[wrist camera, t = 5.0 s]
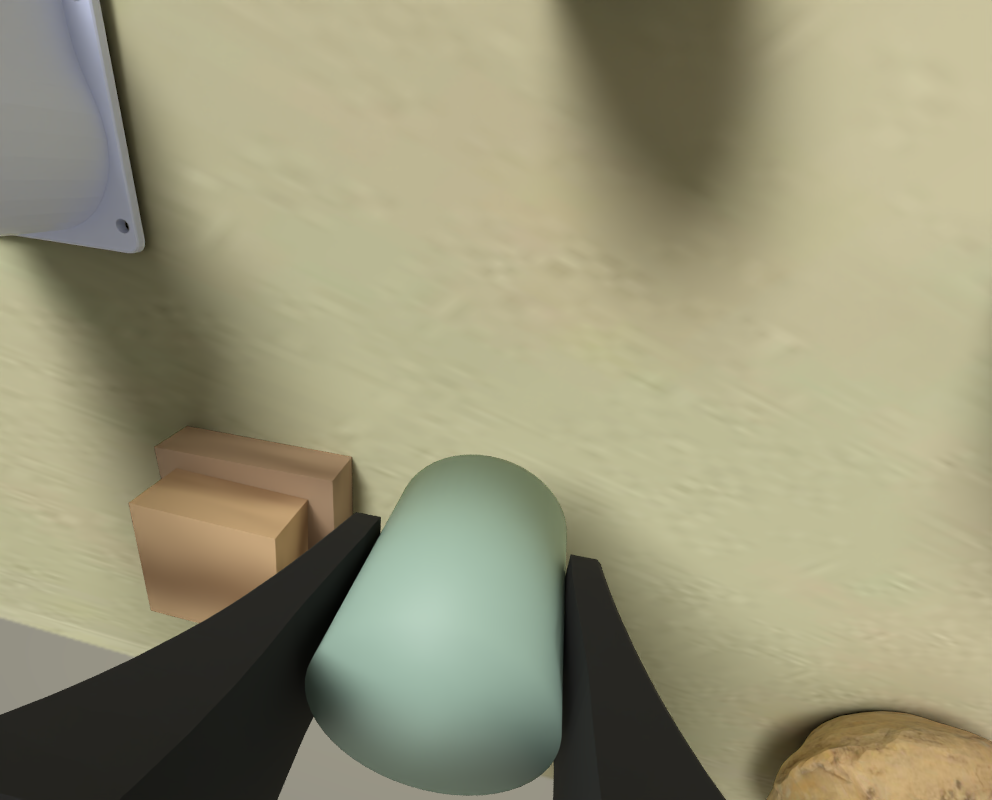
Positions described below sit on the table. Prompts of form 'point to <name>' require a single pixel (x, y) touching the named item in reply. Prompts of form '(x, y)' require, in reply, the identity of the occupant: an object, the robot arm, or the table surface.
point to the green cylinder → (453, 635)
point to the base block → (267, 471)
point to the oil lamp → (887, 761)
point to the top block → (213, 541)
